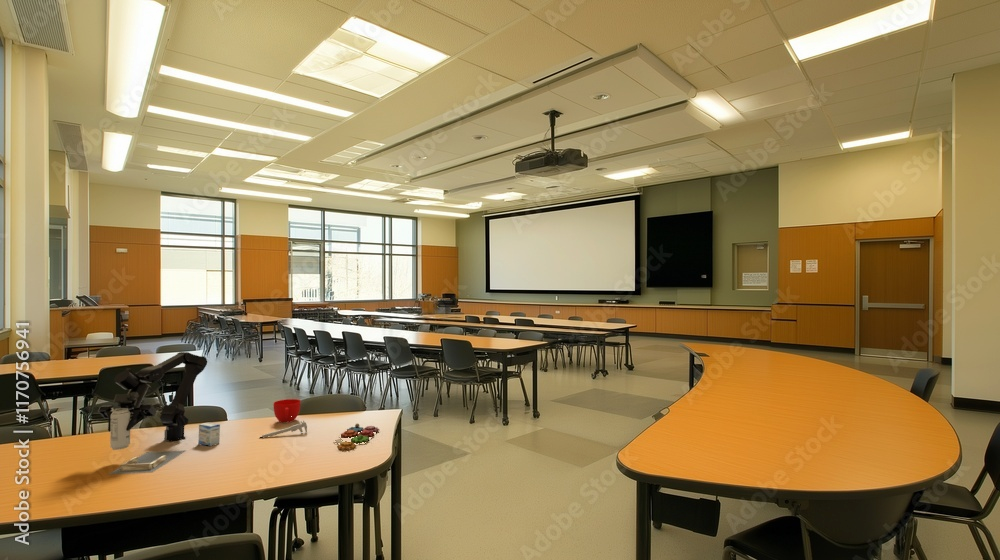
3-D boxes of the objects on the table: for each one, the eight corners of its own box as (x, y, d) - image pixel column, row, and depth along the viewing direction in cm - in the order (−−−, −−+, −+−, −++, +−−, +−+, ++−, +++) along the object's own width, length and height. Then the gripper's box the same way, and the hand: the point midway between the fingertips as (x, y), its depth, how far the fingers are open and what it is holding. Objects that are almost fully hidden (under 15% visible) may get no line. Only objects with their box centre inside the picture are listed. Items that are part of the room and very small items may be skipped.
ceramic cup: (272, 427, 228) (272, 407, 229) (273, 419, 244) (274, 400, 244) (300, 425, 234) (300, 405, 234) (300, 416, 249) (300, 398, 249)
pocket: (134, 461, 181) (135, 456, 181) (165, 460, 183) (165, 455, 183) (119, 470, 172) (119, 465, 172) (152, 469, 174) (152, 463, 174)
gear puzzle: (359, 452, 195) (359, 443, 195) (322, 452, 195) (322, 442, 195) (380, 430, 226) (380, 422, 226) (348, 430, 226) (348, 422, 226)
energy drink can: (131, 447, 182) (131, 409, 182) (111, 451, 178) (111, 412, 178) (128, 443, 186) (128, 406, 186) (109, 447, 182) (109, 409, 182)
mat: (147, 452, 192) (147, 452, 192) (186, 451, 195) (186, 450, 195) (107, 475, 169) (107, 474, 169) (152, 473, 171) (152, 472, 171)
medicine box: (198, 444, 203) (198, 424, 204) (207, 441, 208) (208, 422, 208) (210, 446, 201) (210, 426, 201) (219, 443, 205) (220, 423, 205)
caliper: (306, 432, 221) (307, 419, 221) (307, 433, 220) (307, 420, 220) (259, 438, 213) (259, 424, 213) (258, 439, 212) (259, 425, 212)
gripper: (100, 385, 184) (80, 421, 173) (152, 384, 187) (135, 419, 176) (114, 400, 192) (95, 435, 181) (163, 398, 195) (147, 433, 184)
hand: (118, 430), depth 181 cm, fingers closed on energy drink can, 6 cm apart
